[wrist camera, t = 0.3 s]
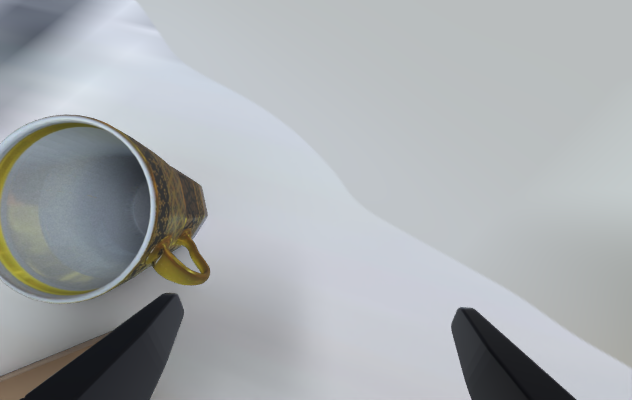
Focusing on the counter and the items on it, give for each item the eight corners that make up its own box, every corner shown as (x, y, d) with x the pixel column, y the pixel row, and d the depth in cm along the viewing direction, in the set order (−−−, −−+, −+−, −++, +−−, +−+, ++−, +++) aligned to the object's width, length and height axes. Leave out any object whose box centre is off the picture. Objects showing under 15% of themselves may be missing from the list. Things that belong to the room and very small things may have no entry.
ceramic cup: (97, 225, 24) (-67, 237, 14) (156, 133, 24) (37, 79, 14) (215, 303, 23) (135, 374, 13) (275, 208, 23) (240, 208, 13)
